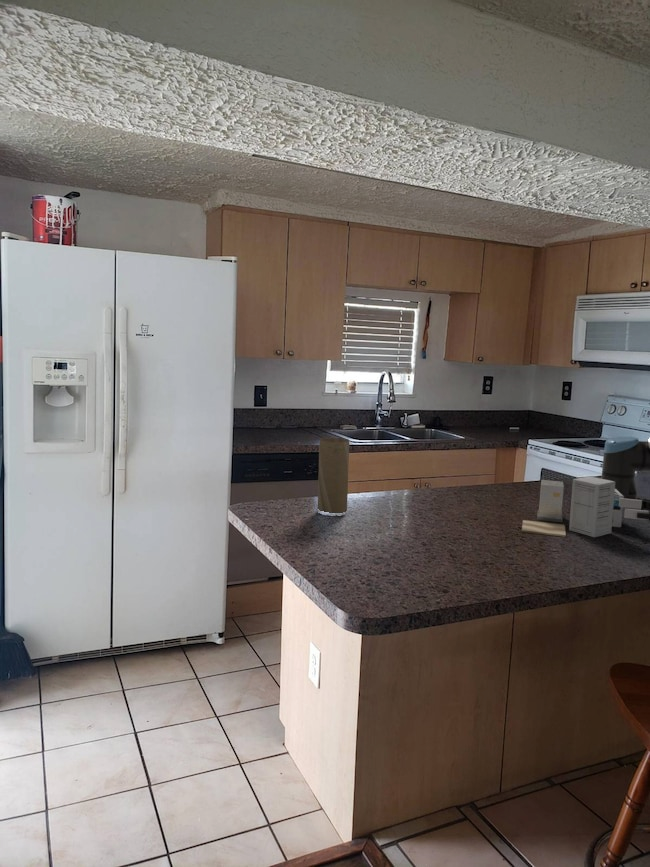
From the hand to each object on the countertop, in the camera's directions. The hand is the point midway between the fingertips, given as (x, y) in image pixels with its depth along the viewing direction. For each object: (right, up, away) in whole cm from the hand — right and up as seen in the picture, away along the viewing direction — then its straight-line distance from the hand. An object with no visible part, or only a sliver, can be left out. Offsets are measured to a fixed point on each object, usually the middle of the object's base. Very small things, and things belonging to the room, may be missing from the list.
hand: (621, 507), depth 203 cm
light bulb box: (+2, -7, +15) cm, 17 cm away
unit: (-16, -6, +19) cm, 25 cm away
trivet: (-22, -8, +6) cm, 24 cm away
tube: (-90, -4, +18) cm, 92 cm away
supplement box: (-8, -8, +4) cm, 12 cm away
